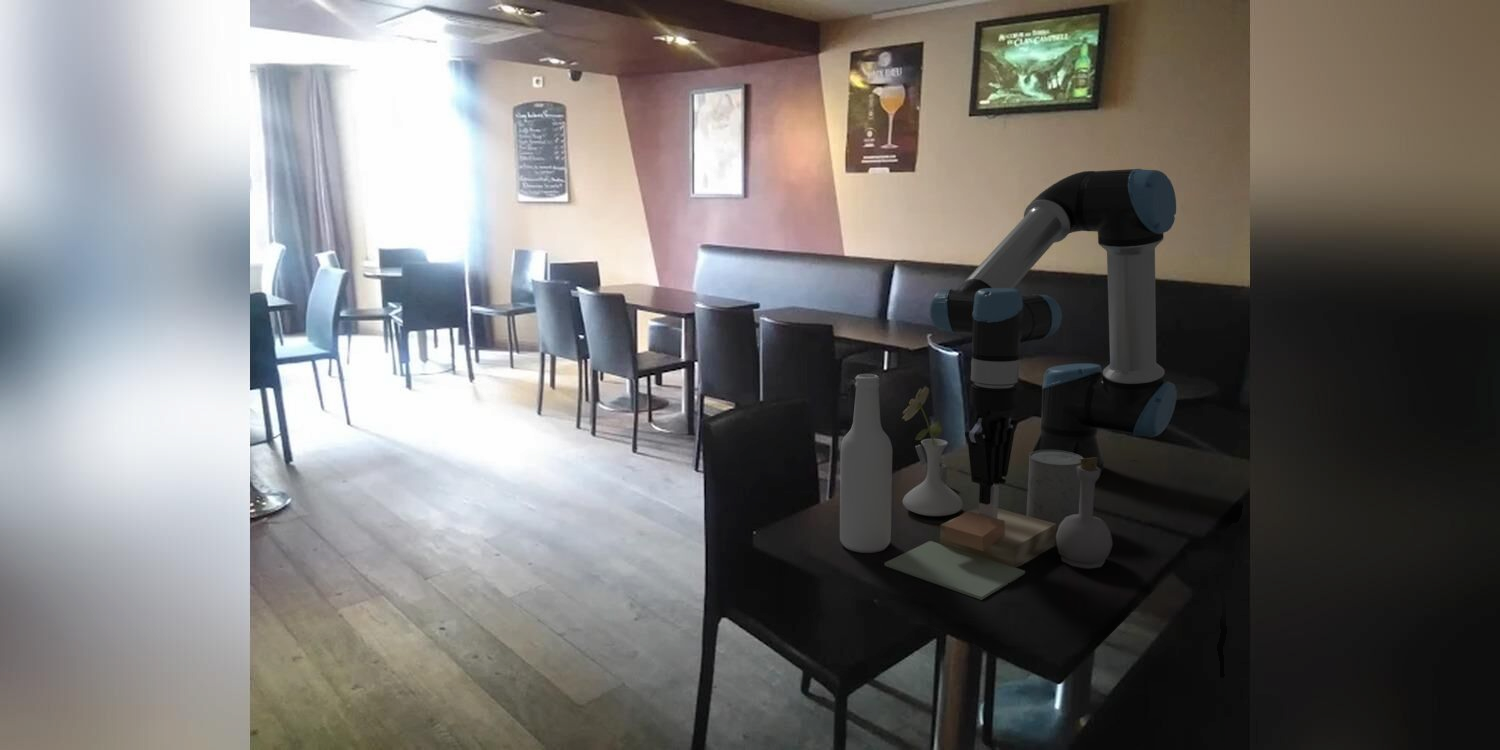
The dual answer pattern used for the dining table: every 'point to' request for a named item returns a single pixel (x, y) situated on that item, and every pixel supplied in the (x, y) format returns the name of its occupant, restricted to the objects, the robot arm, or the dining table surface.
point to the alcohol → (866, 474)
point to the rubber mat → (955, 569)
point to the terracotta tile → (974, 530)
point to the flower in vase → (930, 470)
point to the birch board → (1012, 539)
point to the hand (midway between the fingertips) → (987, 520)
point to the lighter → (923, 460)
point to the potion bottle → (1084, 525)
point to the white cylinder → (1053, 485)
